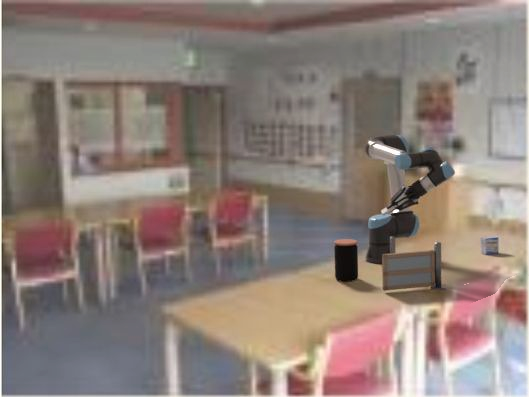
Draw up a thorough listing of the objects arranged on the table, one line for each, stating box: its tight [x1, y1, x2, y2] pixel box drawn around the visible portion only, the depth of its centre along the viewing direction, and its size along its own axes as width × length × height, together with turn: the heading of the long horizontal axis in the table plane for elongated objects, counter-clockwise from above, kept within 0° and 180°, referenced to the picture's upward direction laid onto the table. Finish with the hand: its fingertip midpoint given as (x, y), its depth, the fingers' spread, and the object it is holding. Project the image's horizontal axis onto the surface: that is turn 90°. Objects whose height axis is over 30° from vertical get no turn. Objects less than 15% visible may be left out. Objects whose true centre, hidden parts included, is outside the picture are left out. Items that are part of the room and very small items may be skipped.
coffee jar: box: [333, 238, 359, 283], centre depth 325 cm, size 11×11×18 cm
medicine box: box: [480, 236, 500, 256], centre depth 366 cm, size 8×4×9 cm, turn 105°
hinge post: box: [430, 241, 446, 291], centre depth 304 cm, size 6×6×20 cm
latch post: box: [390, 236, 397, 254], centre depth 325 cm, size 2×2×19 cm
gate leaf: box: [381, 249, 435, 292], centre depth 301 cm, size 23×2×16 cm, turn 101°
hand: (382, 213), depth 335 cm, fingers closed
